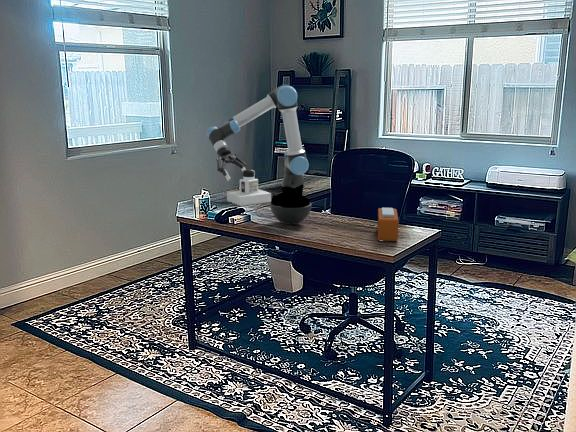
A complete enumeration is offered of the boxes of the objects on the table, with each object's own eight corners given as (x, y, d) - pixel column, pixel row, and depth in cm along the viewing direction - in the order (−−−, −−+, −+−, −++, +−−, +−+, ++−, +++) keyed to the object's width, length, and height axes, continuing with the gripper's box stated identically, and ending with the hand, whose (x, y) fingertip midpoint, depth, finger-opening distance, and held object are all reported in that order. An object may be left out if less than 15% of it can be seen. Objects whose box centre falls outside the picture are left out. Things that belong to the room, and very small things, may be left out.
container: (249, 194, 316) (248, 171, 313) (239, 192, 321) (238, 170, 318) (258, 192, 322) (258, 169, 319) (248, 190, 327) (248, 168, 324)
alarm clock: (377, 228, 267) (378, 204, 264) (395, 228, 266) (396, 205, 263) (377, 242, 244) (379, 216, 241) (397, 243, 243) (398, 217, 240)
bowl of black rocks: (274, 230, 262) (273, 190, 258) (267, 219, 281) (267, 182, 277) (315, 228, 266) (316, 188, 262) (306, 217, 285) (306, 181, 281)
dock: (257, 196, 334) (257, 188, 333) (271, 201, 321) (271, 192, 320) (227, 200, 324) (226, 191, 323) (240, 206, 311) (239, 196, 309)
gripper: (236, 151, 344) (252, 179, 337) (202, 155, 327) (218, 184, 320) (241, 144, 339) (258, 171, 332) (207, 147, 322) (223, 176, 315)
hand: (238, 178), depth 326 cm, fingers open, 13 cm apart
